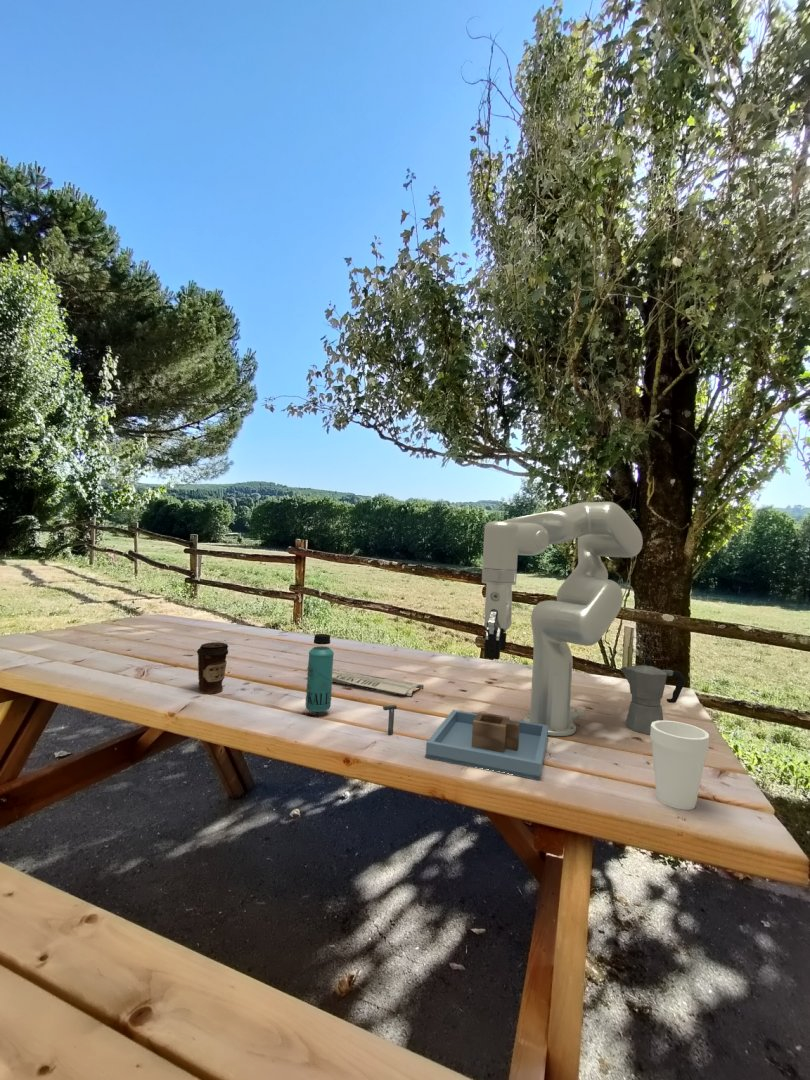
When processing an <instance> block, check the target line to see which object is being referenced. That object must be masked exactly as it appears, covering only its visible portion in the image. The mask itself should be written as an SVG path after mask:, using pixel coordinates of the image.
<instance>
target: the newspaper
mask: <svg viewBox="0 0 810 1080" xmlns="http://www.w3.org/2000/svg"><path fill="white" fill-rule="evenodd" d="M306 671H308V670H307V669H306ZM332 682H337V683H336V684H339V683H342V684H341V685H345V684H347V685H346V686H350V685H351V686H352V687H355V686H357V688H361V687H362V689H366V688H368V690H372V689H373V691H377V690H379V691H378V692H383V691H384V693H388V692H390V693H389V694H394V693H396V694H395V695H399V694H402V695H401V696H405V695H407V696H406V697H410V696H411V695H412V696H413V692H414V691H413V689H414V688H419V689H420V690H423V689H424V688H425V687H424V684H423V683H422V684H421V683H414V682H408V681H404V680H397V679H391V678H387V677H386V678H385V677H379V676H374V675H368V674H362V673H357V672H356V673H355V672H351V671H345V670H340V669H335V668H333V669H332ZM422 688H423V689H422Z"/></svg>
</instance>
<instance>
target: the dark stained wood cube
mask: <svg viewBox="0 0 810 1080" xmlns="http://www.w3.org/2000/svg"><path fill="white" fill-rule="evenodd" d="M476 714H477V716H476V717H475V719H474V721H473V728H472V747H474V748H480V749H485V750H491V751H496V752H501V753H504V752H505V749H508V750H513V751H517V750H518V747H519V729H520V722H517V721H511V720H510V719H511V718H510V716H506V715H500V714H494V713H487V712H482V711H478V713H476Z"/></svg>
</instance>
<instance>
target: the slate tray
mask: <svg viewBox="0 0 810 1080" xmlns="http://www.w3.org/2000/svg"><path fill="white" fill-rule="evenodd" d="M477 714H478V713H475V712H470V711H469V712H468V711H463V710H457V709H453V710H451V712H450V713H449V714H448V715H447V716H446V718H445V719H444V720H443V721H442V723H441V724H440V725H439V726H438V727H437V729H436V730H435V731H434V732H433V733H432V734H431V736H430V737H429V739H428V740H427V741H426V744H425V745H426V747H425V759H429V760H430V759H431V760H435V761H440V762H446V763H450V764H454V765H455V764H456V765H458V766H459V765H460V766H465V767H469V768H474V769H475V767H477V768H476V769H479V768H483V769H482V770H484V769H489V770H494V771H500V772H505V773H509V774H513V775H512V776H514V775H518V776H517V777H519V776H523V777H522V778H524V777H527V778H526V779H529V778H532V779H531V780H534V779H536V780H535V781H539V780H540V781H541V778H542V777H541V776H542V773H543V771H542V770H543V767H544V766H543V765H544V761H545V754H546V750H547V744H548V740H549V738H548V737H549V735H548V725H543V724H536V723H530V722H524V720H517V719H511V718H510V720H511V721H517V722H520V729H519V747H518V750H517V751H513V750H508V749H505V752H504V753H501V752H496V751H491V750H485V749H480V748H474V747H472V728H473V721H474V719H475V717H476V716H477ZM489 770H488V771H489ZM494 771H493V772H494ZM509 774H508V775H509Z"/></svg>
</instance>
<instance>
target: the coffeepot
mask: <svg viewBox="0 0 810 1080" xmlns="http://www.w3.org/2000/svg"><path fill="white" fill-rule="evenodd" d="M644 662H645V664H644V665H643V664H640V665H631V666H623V667H620V668H619V670H620V671H621V672H622V673H623V675H624V677H625V679H626V680H627V682H628V685H629V693H630V694H631V700H630V704H629V707H628V712H627V717H626V720H625V727H627V728H628V729H629V730H631V731H633V732H635V733H639V734H643V735H649V736H650V732H651V724H652V722H655V721H664V715H663V706H662V705H661V703H662V702H661V699H662V698H663V696H664V693H665V686H666V682H667V679H677V682H676V683H675V688H674V689H673V691H672V697H671V698H666V701H667V702H666V703H670V704H676V703H677V702H678V698H679V696H680V694H681V693H682V690H683V688H684V687H685V684H686V677H685V676H684V675H683V674H682V672H681V671H679V670H674V669H673V670H671V669H661V668H658V667H655V666H653V665H651V664H652V662H653V659H651V658H644Z"/></svg>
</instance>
